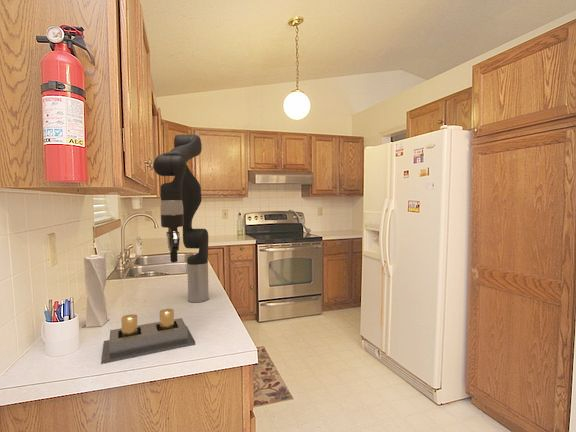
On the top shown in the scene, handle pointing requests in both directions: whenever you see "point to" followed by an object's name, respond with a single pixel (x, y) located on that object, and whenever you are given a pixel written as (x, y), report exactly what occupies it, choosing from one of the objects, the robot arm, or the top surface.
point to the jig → (144, 339)
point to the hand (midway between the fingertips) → (174, 261)
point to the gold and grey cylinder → (166, 319)
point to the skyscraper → (95, 290)
